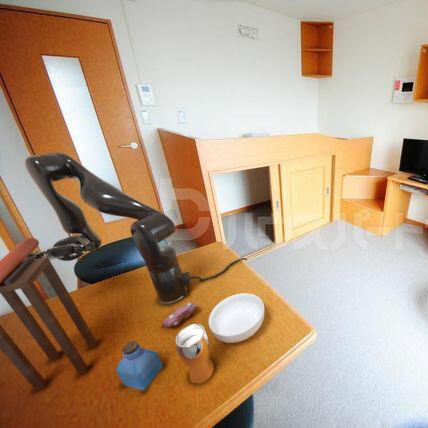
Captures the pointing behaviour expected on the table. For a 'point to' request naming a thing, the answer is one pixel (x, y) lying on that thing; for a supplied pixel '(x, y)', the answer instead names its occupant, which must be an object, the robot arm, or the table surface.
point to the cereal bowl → (237, 317)
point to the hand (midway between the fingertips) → (56, 254)
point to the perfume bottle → (138, 366)
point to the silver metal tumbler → (195, 352)
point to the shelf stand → (24, 281)
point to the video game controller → (179, 314)
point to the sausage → (16, 257)
